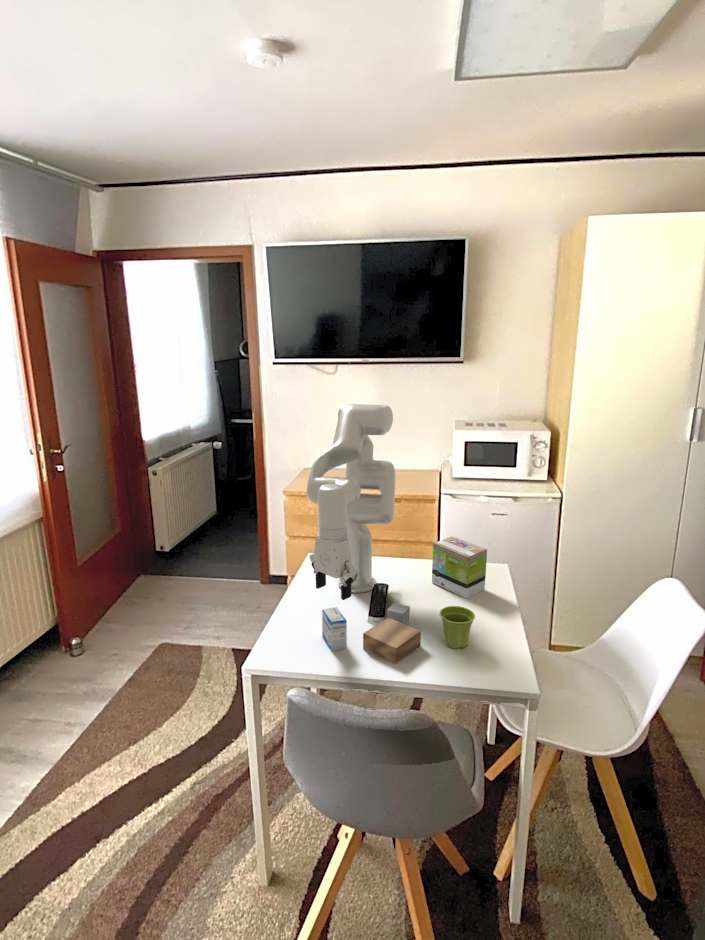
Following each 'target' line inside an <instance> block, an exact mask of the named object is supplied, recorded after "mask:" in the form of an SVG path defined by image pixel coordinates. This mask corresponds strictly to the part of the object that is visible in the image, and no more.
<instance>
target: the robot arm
mask: <svg viewBox="0 0 705 940" xmlns="http://www.w3.org/2000/svg"><path fill="white" fill-rule="evenodd" d="M393 419H394V415H393V410H392V408H391V407H390V406H389V405H388V404H387V405H386V404H365V403H364V404H362V403H361V404H357V403H356V404H345V405H342V406H341V407H339V408H338V410H337V422H336V423H337V424H336V427H335V431H334V437H333V442H332V445H331V446H330V447H329V448H327V449H326V450H325V451H323V452H322V453H321V454H320V455H319V456H318V457H316V459H315V460H314V462H313V463H312V465H311V468H310V472H309V476H308V481H307V485H306V495H307V499H308V500H309V502H310V503H312V504H315V505H317V520H318V521H317V530H318V532H317V534H316V536H315V541H314V548H313V549H314V550H313V554H310V555H309V560H310V563H311V567H312V568H313V573H314V574H315V588H316V589H318V590H319V589H321V588H323V587H326V586H327V577H326V576H329V577H330V578H333V579H339V580H338V587H339V588H340V599H341V601H345V600H348V599H349V598H351V597H352V593H353V594H355V593H359V594H360V593H367V592H370V591H372V590H373V589H372V588H373V586H374V584H376V585H377V580H376V578H375V577H373V575H372V574H373V573H372V571H373V564H372V563H373V562H372V559H373V557H372V555H373V554H372V553H373V549H372V547H373V542H372V541H373V536H372V532H371V530H370V528H369V527H368V526H367V525H368V524H371V525H389V524H391V523H392V521H393V519H394V514H395V499H396V498H395V496H396V470H395V467H394V464H393V463H392V462H390V461H388V460H376V459H374V442H373V441H372V439H371V438H370V437H369V436H384V435H387V433H388V432H390V430H391V428H392V426H393V423H394V420H393ZM343 465H346V466H345V477H342V476H341V477H340V476H324V475H325V474H326V473H328V472H329V471H330V470H333V469H335V468H338V467H340V466H343ZM361 490H367V491H368V490H369V491H370V490H371V491H375V490H376V491H379V492H380V494H378V493H375V494H374V493H361Z"/></svg>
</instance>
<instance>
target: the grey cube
mask: <svg viewBox="0 0 705 940" xmlns="http://www.w3.org/2000/svg"><path fill="white" fill-rule="evenodd" d="M410 610H411V607H410V606H409V605H405V604H401V603H397V602H393V603H392V604H391V605H390V606H389V607H388V608H387V609H386V619H387V618H391V619H393V620H396V621H398V622H400V623H403V624H405V625H408V624H409V623H410V621H411V619H410V618H411V617H410V616H411V615H410V614H411V613H410V612H411V611H410Z"/></svg>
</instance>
